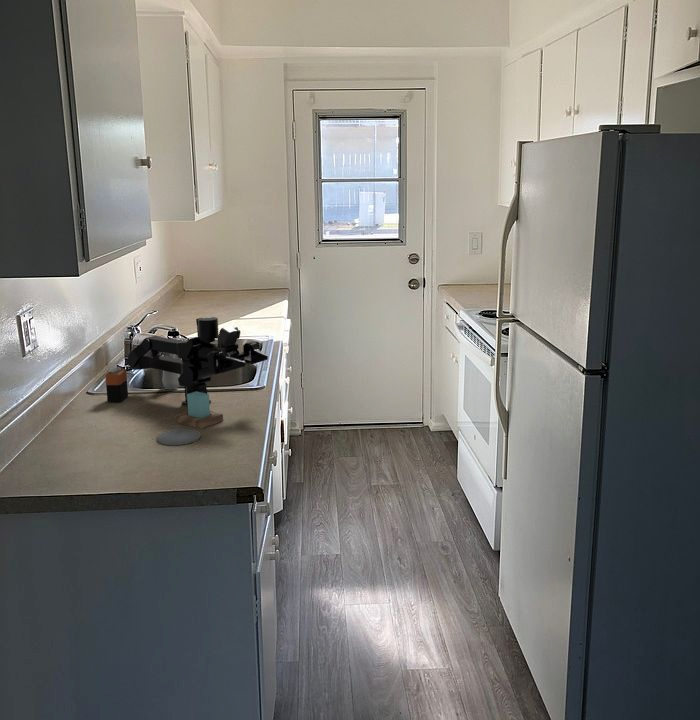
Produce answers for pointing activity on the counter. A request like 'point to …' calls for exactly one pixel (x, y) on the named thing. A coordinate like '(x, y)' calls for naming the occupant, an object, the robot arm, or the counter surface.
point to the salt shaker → (170, 376)
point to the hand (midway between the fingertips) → (256, 361)
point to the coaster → (178, 437)
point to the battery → (116, 385)
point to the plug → (198, 404)
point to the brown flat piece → (199, 419)
